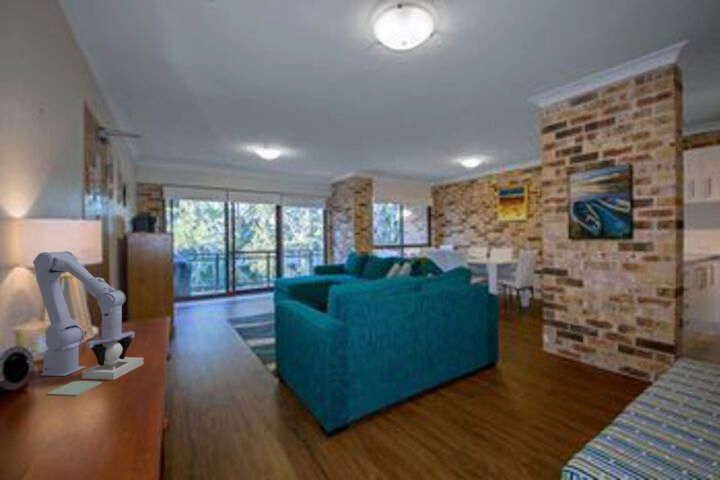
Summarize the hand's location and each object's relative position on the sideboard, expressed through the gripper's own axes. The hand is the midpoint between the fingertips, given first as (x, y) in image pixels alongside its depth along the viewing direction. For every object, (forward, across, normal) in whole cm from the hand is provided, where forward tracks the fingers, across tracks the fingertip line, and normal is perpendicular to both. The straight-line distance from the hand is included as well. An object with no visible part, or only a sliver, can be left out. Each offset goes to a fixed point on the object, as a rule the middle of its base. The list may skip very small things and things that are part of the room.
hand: (111, 361), depth 118 cm
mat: (+4, -12, -4) cm, 14 cm away
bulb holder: (+4, +1, 0) cm, 4 cm away
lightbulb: (+4, 0, 0) cm, 4 cm away
